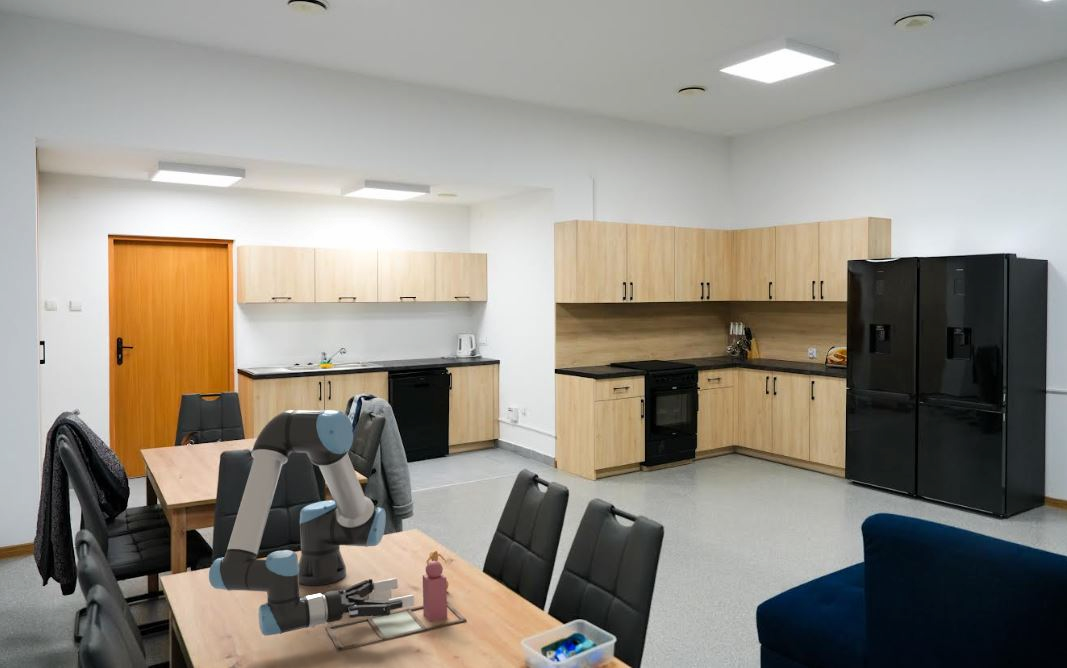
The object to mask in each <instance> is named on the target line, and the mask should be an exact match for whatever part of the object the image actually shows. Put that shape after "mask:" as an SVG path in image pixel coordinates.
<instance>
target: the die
mask: <svg viewBox="0 0 1067 668" xmlns="http://www.w3.org/2000/svg"><path fill="white" fill-rule="evenodd" d="M388 599H392V590H387V591H382V592H377V593H374V590H373V592H371V593H370V594H368V600H375V601H388Z"/></svg>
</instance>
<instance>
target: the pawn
mask: <svg viewBox="0 0 1067 668" xmlns="http://www.w3.org/2000/svg"><path fill="white" fill-rule="evenodd" d="M443 569H444V567H443V565H442V563H441V562H440V561H439V560H437V561H432V560H430V562H429V563H428V564H427V563H426V567H425V574H422V600H423V601H422V606H423V608H422V609H423V615H424V617H425V618H426V619H427V620H428V621H429V622H433V621H438V620H442V619H447V618H448V607H447V602H448V598H447V597H448V593H447V591H448V589H447V584H446V580H447V577H446V576H445V575H444V574H443V571H444V570H443ZM446 617H447V618H446Z"/></svg>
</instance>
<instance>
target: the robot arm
mask: <svg viewBox="0 0 1067 668" xmlns="http://www.w3.org/2000/svg"><path fill="white" fill-rule="evenodd" d="M353 430H354V428H353V423H352V422H351V419H350V418H349V416H348V414H346V413H345V412H343V411H341V410H333V409H313V410H311V409H308V410H307V409H306V410H305V409H303V410H302V409H301V410H299V409H298V410H297V409H289V410H285V411H283V412H280V413H279V414H277V415H276V416H274V417H273V418H272V419H270V420H269V421H268V422H267V423H266V424H265V426H264V427H263V429H261V431H260V432H259V434H258V435H257V438H256V440H255V442H254V444H253V448H252V450H251V457H252V458H253V461H252V464H251V467H250V470H249V475H248V478H247V480H246V484H245V488H244V491H243V494H242V498H241V501H240V506H239V508H238V511H237V515H236V517H235V522H234V526H233V527H232V528H233V529H232V532H231V535H230V539H229V542H228V546H227V549H226V552H225V554H224V557H222V556H221V557H218V558H216V559H215V560H214V561H213V563H212V564H211V566H210V568H209V570H208V580H209V583H210V586H212V588H214V589H215V590H217V589H218V590H226V591H246V592H266V594H267V602H265V603H263V604H261V605H260V606H259V607H258V624H259V629H260V632H261V634H262V635H263V636H272V635H281V634H282V635H283V634H285V633H288V632H294V631H296V630H301V629H305V628H313V629H314V628H315V627H316V626H319V625H324V624H325V623H328V624H330V623H334V622H339V621H341V620H342V619H343V615H344V614H349V616H348V617H349V618H350V619H353V618H359V617H372V616H388V615H390V612H392V611H397V610H400V609H401V610H402V609H406V608H409V607H410V608H411V607H413V606H415V595H414V594H409V595H408V594H407V595H404V596H399V597H392V598H391V599H388V601H375V600H369V599H366V598H365V597H366V596H369V594H370V593H371V592H373V590H374V593H377V592H382V591H387V590H391V591H392V590H395V589H398V588H399V585H398V581H399V580H398V578H397V577H394V578H388V579H384V580H377V581H374V582H373V579H372V578H370V579H367V580H363V581H360V582H358V583H356V584H353V585H350V586H348V587H346V588H342V589H333V590H330V591H328V590H327V591H324V592H323V594H322V593H321V592H317V593H313V594H312V593H311V594H308V595H305V596H304V595H303V596H300V584H301V585H303V586H322V585H328V584H334V583H335V582H339V581H340V580H342V579H345V577H346V576H345V575H347V566H346V563H345V561H344V558H343V555H342V553H341V550H340V547H341V546H350V547H365V548H367V547H375V546H378V545H379V544H380V543H381V541H382V539H383V536H384V533H385V529H386V520H387V519H386V518H387V516H386V515H387V514H386V511H385V508H383V507H379V506H378V507H375V504H374V503H373V501H372V500H371V499H370V498H369V497H368V496H365V493H364V491H363V488H362V486H361V483H360V481H359V479H358V476H357V474H356V471H355V468H354V466H353V463H352V461H351V459H350V455H349V451H350V449H351V447H352V446H353V441H354V432H353ZM291 453H296V454H297V453H299V454H301V453H303V454H306V455H307V457H308V459H309V461H310V462H311V463H312V464H313V465H315V466H317V467H319V470H320V472H321V474H322V476H323V479H324V481H325V484H326V485H327V487H328V490H329V492H330V494H331V496H332V498H333V500H332V499H329V500H323V501H322V500H321V501H318V502H313V503H310V504H308V505H306V506H304V507H302V509H301V510H300V514H299V516H300V517H299V531H300V558H298V557H299V556H298V554H297V553H296V552H295V551H293V550H289V549H282V550H277V551H273V552H270V553H269V554H268V555H267V556H266V558H265V559H257V557H258V554H259V550H260V546H261V543H262V538H263V535H264V532H265V529H266V528H265V527H266V526H267V525H266V524H267V521H268V519H269V518H268V517H269V514H270V511H271V506H272V503H273V500H274V495H275V493H276V489H277V485H278V482H279V481H278V480H279V478H280V474H281V472H282V471H281V470H282V467H283V465H285V464H286V463H288V460H289V457H290V455H291Z"/></svg>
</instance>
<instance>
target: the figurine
mask: <svg viewBox="0 0 1067 668" xmlns="http://www.w3.org/2000/svg"><path fill="white" fill-rule="evenodd" d="M439 557H440V558H441V560H443V561H444V562H445V564H447V561H446V558H444V557H443V556H442V555H441V554H440V553H438V550H435V551H431V552H430V553H429V557H428V558H427V560H426V565H427V564H428V563H429V561H439ZM446 584H447V590H448V588H449V582H448V580H447V579H446Z"/></svg>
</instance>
